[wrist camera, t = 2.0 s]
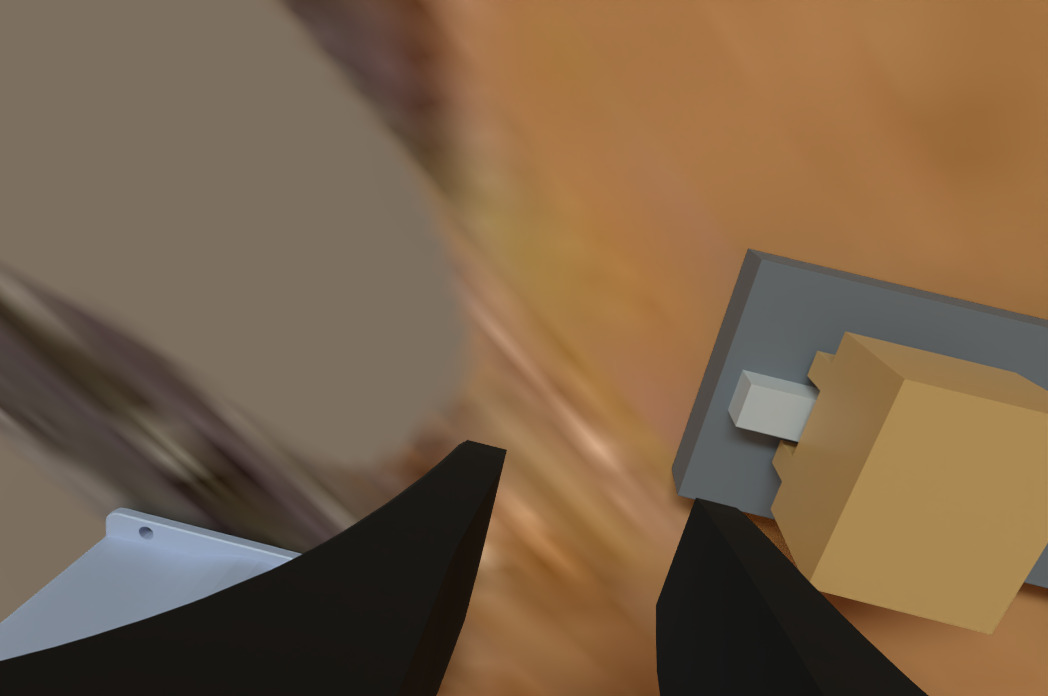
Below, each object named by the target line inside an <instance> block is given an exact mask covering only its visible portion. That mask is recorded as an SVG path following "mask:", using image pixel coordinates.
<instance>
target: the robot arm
mask: <svg viewBox="0 0 1048 696" xmlns="http://www.w3.org/2000/svg"><path fill="white" fill-rule="evenodd" d="M506 451H507V450H505V449H501V448H497V447H493V446H489V445H485V444H481V443H477V442H473V441H469V440H467V441H465V442H463V443H461V444H459V445H458V446H457V447H456V448H455V449H454V450H453V451H452V452H451V453H450V454H449V455H448V456H446V457H445V458H444V459H443V460H442V461H441V462H440V463H438V464H437V465H436V466H435V467H434V468H432V469H431V470H430V471H429V472H428V473H426V474H425V475H424V476H423V477H421V478H420V479H419V480H417V481H416V482H415V483H413V484H412V485H411V486H409V487H408V488H407V489H406V490H404V491H403V492H402V493H400V494H399V495H398V496H396V497H395V498H393V499H392V500H391V501H389V502H388V503H386V504H385V505H383V506H382V507H380V508H379V509H377V510H376V511H374V512H373V513H371V514H370V515H368V516H366V517H365V518H363V519H362V520H360V521H359V522H357V523H356V524H354V525H353V526H351V527H349V528H348V529H346V530H345V531H343V532H341V533H340V534H338V535H336V536H334V537H333V538H331V539H329V540H327V541H326V542H324V543H322V544H320V545H318V546H317V547H315V548H313V549H311V550H309V551H307V552H305V553H303V554H301V553H297V552H293V551H289V550H285V549H281V548H278V547H274V546H270V545H266V544H262V543H258V542H254V541H250V540H247V539H243V538H239V537H235V536H231V535H227V534H223V533H220V532H216V531H212V530H208V529H204V528H200V527H196V526H192V525H189V524H185V523H181V522H177V521H173V520H169V519H165V518H162V517H158V516H154V515H150V514H146V513H142V512H138V511H135V510H131V509H127V508H118V509H116V510H114V511H113V512H112V513H111V514H109V515H108V516H107V518H106V537H104V538H103V539H102V540H101V541H100V542H98V543H97V544H96V545H95V546H93V547H92V548H91V549H90V550H89V551H87V552H86V553H85V554H84V555H83V556H81V557H80V558H79V559H78V560H77V561H75V562H74V563H73V564H72V565H70V566H69V567H68V568H67V569H66V570H65V571H63V572H62V573H61V574H60V575H58V576H57V577H56V578H55V579H53V580H52V581H51V582H50V583H49V584H48V585H46V586H45V587H44V588H43V589H41V590H40V591H39V592H38V593H36V595H34V596H33V597H32V598H31V599H29V600H28V601H27V602H26V603H24V604H23V605H22V606H21V607H19V608H18V609H17V610H16V611H15V612H14V613H12V614H11V615H10V616H9V617H7V618H6V619H5V620H4V621H3V622H1V623H0V696H436V695H437V693H438V690H439V687H440V685H441V682H442V679H443V677H444V674H445V671H446V669H447V666H448V663H449V661H450V658H451V655H452V653H453V650H454V647H455V645H456V642H457V639H458V637H459V634H460V631H461V629H462V626H463V623H464V621H465V617H466V613H467V609H468V605H469V602H470V598H471V594H472V590H473V586H474V583H475V579H476V575H477V571H478V567H479V563H480V560H481V555H482V551H483V547H484V543H485V539H486V534H487V530H488V526H489V522H490V518H491V514H492V509H493V505H494V501H495V497H496V493H497V489H498V484H499V480H500V476H501V472H502V468H503V463H504V459H505V455H506ZM147 527H148V528H150V529H151V530H152V531H153V532H152V531H150V530H149V529H148V528H147ZM656 651H657V674H658V682H659V690H660V696H928V695H927V694H926V693H925V692H924V691H922V690H921V689H920V688H919V687H918V686H917V685H916V684H914V683H913V682H912V681H911V680H910V679H909V678H908V677H907V676H906V675H904V674H903V673H902V672H901V671H900V670H899V669H898V668H897V667H896V666H895V665H894V664H893V663H892V662H891V661H890V660H888V659H887V658H886V657H885V656H884V655H883V654H882V653H881V652H880V651H879V650H878V649H877V648H876V647H875V646H874V645H873V644H871V643H870V642H869V641H868V640H867V639H866V638H865V637H864V636H863V635H862V634H861V633H860V632H859V631H858V630H857V629H856V628H855V627H854V626H853V625H852V624H851V623H850V622H849V621H848V620H847V619H846V618H845V617H844V616H843V615H842V614H841V613H840V612H839V611H838V610H837V609H836V608H835V607H834V606H833V605H832V604H831V603H830V602H829V601H828V600H827V599H826V598H825V597H824V596H823V595H822V594H821V593H820V592H819V591H818V590H817V589H816V588H815V587H814V586H813V585H812V584H811V583H810V582H809V581H808V580H807V578H806V577H805V576H804V575H803V574H802V573H801V572H800V571H799V570H798V569H797V568H796V567H795V566H794V565H793V564H792V563H791V562H790V561H789V560H788V558H787V557H786V556H785V555H784V554H783V553H782V552H781V551H780V550H779V549H778V548H777V547H776V546H775V545H774V544H773V543H772V542H771V541H770V539H769V538H768V537H767V536H766V535H765V534H764V533H763V532H762V531H761V530H760V529H759V528H758V527H757V526H756V525H755V524H754V523H753V522H752V521H751V520H750V519H749V518H748V517H747V516H746V515H744V514H743V513H742V512H741V511H740V510H739V509H738V508H736V507H732V506H728V505H724V504H720V503H716V502H712V501H708V500H704V499H700V498H696V499H695V501H694V504H693V507H692V510H691V512H690V515H689V518H688V520H687V523H686V526H685V529H684V531H683V534H682V537H681V539H680V542H679V545H678V547H677V550H676V553H675V556H674V558H673V561H672V564H671V566H670V569H669V572H668V575H667V577H666V580H665V583H664V585H663V588H662V591H661V593H660V596H659V599H658V602H657V604H656Z"/></svg>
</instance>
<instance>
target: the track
mask: <svg viewBox="0 0 1048 696" xmlns="http://www.w3.org/2000/svg"><path fill="white" fill-rule="evenodd" d="M845 331H846V332H850V333H854V334H858V335H862V336H866V337H870V338H875V339H879V340H883V341H887V342H891V343H895V344H899V345H903V346H908V347H912V348H916V349H920V350H924V351H928V352H932V353H937V354H941V355H945V356H949V357H953V358H957V359H961V360H966V361H970V362H974V363H978V364H982V365H986V366H990V367H995V368H999V369H1003V370H1007V371H1011V372H1015V373H1017V374H1019V375H1021V376H1022V377H1024V378H1026V379H1028V380H1029V381H1031V382H1033V383H1035V384H1036V385H1038V386H1040V387H1042V388H1043V389H1045V390H1047V391H1048V320H1045V319H1040V318H1036V317H1032V316H1028V315H1024V314H1019V313H1015V312H1011V311H1007V310H1003V309H998V308H994V307H990V306H986V305H982V304H978V303H973V302H969V301H965V300H961V299H957V298H952V297H948V296H944V295H940V294H936V293H932V292H927V291H923V290H919V289H915V288H911V287H906V286H902V285H898V284H894V283H890V282H885V281H881V280H877V279H873V278H869V277H865V276H860V275H856V274H852V273H848V272H844V271H839V270H835V269H831V268H827V267H823V266H818V265H814V264H810V263H806V262H802V261H798V260H793V259H789V258H785V257H781V256H777V255H772V254H768V253H764V252H760V251H756V250H752V249H748V251H747V253H746V256H745V259H744V262H743V265H742V268H741V271H740V274H739V276H738V279H737V282H736V285H735V288H734V291H733V294H732V297H731V299H730V302H729V305H728V308H727V311H726V314H725V317H724V320H723V323H722V325H721V328H720V331H719V334H718V337H717V340H716V343H715V346H714V348H713V351H712V354H711V357H710V360H709V363H708V366H707V369H706V371H705V374H704V377H703V380H702V383H701V386H700V389H699V392H698V395H697V397H696V400H695V403H694V406H693V409H692V412H691V415H690V418H689V420H688V423H687V426H686V429H685V432H684V435H683V438H682V441H681V443H680V446H679V449H678V452H677V455H676V458H675V461H674V464H673V467H672V472H673V477H674V481H675V486H676V490H677V494H678V495H679V496H683V497H687V498H691V499H696V498H700V499H704V500H708V501H712V502H716V503H720V504H724V505H728V506H732V507H736V508H738V509H739V510H740V511H743V512H747V513H750V514H754V515H758V516H762V517H766V518H770V519H774V520H775V518H774V516H773V514H772V511H771V507H772V504H773V502H774V500H775V497H776V495H777V492H778V490H779V488H780V485H781V483H782V481H781V479H780V477H779V475H778V473H777V471H776V469H775V467H774V466H773V464H772V460H773V458H774V456H775V453H776V451H777V448H778V446H779V443H780V441H781V440H784V441H788V442H792V443H796V444H798V442H799V440H800V438H801V435H802V433H803V431H804V428H805V426H806V423H807V421H808V419H809V416H810V414H811V412H812V409H813V407H814V404H815V402H816V400H817V397H818V395H819V393H820V390H819V389H818V388H817V386H816V385H815V384H814V383H813V382H812V381H811V380H810V378H809V377H808V376H807V375H808V372H809V370H810V368H811V365H812V363H813V360H814V358H815V355H816V353H817V351H821V352H825V353H829V354H833V355H836V352H837V350H838V347H839V345H840V343H841V340H842V338H843V336H844V333H845ZM1024 582H1025V583H1029V584H1033V585H1037V586H1041V587H1045V588H1048V543H1047V545H1046V547H1045V548H1044V550H1043V552H1042V553H1041V555H1040V556H1039V558H1038V560H1037V561H1036V563H1035V565H1034V566H1033V568H1032V569H1031V571H1030V573H1029V574H1028V576H1027V578H1026V579H1025V581H1024Z"/></svg>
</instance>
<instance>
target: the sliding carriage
mask: <svg viewBox="0 0 1048 696" xmlns="http://www.w3.org/2000/svg"><path fill="white" fill-rule="evenodd" d="M807 376H808V377H809V378H810V380H811V381H812V382H813V383H814V384H815V385H816V386H817V388H818V389H819V390H820V393H819V395H818V397H817V400H816V402H815V404H814V407H813V409H812V412H811V414H810V416H809V419H808V421H807V423H806V426H805V428H804V431H803V433H802V435H801V438H800V440H799V442H798V444H796V443H792V442H788V441H784V440H781V441H780V443H779V446H778V448H777V451H776V453H775V456H774V458H773V460H772V464H773V466H774V467H775V469H776V471H777V473H778V475H779V477H780V479H781V481H782V483H781V485H780V488H779V490H778V492H777V495H776V497H775V500H774V502H773V504H772V507H771V511H772V514H773V516H774V518H775V520H776V522H777V524H778V527H779V529H780V531H781V533H782V535H783V537H784V540H785V542H786V544H787V546H788V548H789V550H790V553H791V555H792V557H793V559H794V561H795V563H796V566H797V568H798V570H799V571H800V572H801V573H802V574H803V575H804V576H805V577H806V578H807V580H808V581H809V582H810V583H811V584H812V585H813V586H814V587H815V588H816V589H817V590H818V591H821V592H825V593H829V594H833V595H837V596H841V597H845V598H849V599H853V600H856V601H860V602H864V603H868V604H872V605H876V606H880V607H884V608H888V609H892V610H896V611H900V612H904V613H908V614H912V615H915V616H919V617H923V618H927V619H931V620H935V621H939V622H943V623H947V624H951V625H955V626H959V627H963V628H967V629H971V630H974V631H978V632H982V633H986V634H990V635H991V634H992V633H993V631H994V630H995V628H996V626H997V625H998V623H999V621H1000V620H1001V618H1002V617H1003V615H1004V613H1005V612H1006V610H1007V608H1008V607H1009V605H1010V604H1011V602H1012V600H1013V599H1014V597H1015V595H1016V594H1017V592H1018V591H1019V589H1020V587H1021V586H1022V584H1023V582H1024V581H1025V579H1026V578H1027V576H1028V574H1029V573H1030V571H1031V569H1032V568H1033V566H1034V565H1035V563H1036V561H1037V560H1038V558H1039V556H1040V555H1041V553H1042V552H1043V550H1044V548H1045V547H1046V545H1047V543H1048V391H1047V390H1045V389H1043V388H1042V387H1040V386H1038V385H1036V384H1035V383H1033V382H1031V381H1029V380H1028V379H1026V378H1024V377H1022V376H1021V375H1019V374H1017V373H1015V372H1011V371H1007V370H1003V369H999V368H995V367H990V366H986V365H982V364H978V363H974V362H970V361H966V360H961V359H957V358H953V357H949V356H945V355H941V354H937V353H932V352H928V351H924V350H920V349H916V348H912V347H908V346H903V345H899V344H895V343H891V342H887V341H883V340H879V339H875V338H870V337H866V336H862V335H858V334H854V333H850V332H846V331H845V333H844V336H843V338H842V340H841V343H840V345H839V347H838V350H837V352H836V355H833V354H829V353H825V352H821V351H817V353H816V355H815V358H814V360H813V363H812V365H811V368H810V370H809V372H808V375H807Z"/></svg>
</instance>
